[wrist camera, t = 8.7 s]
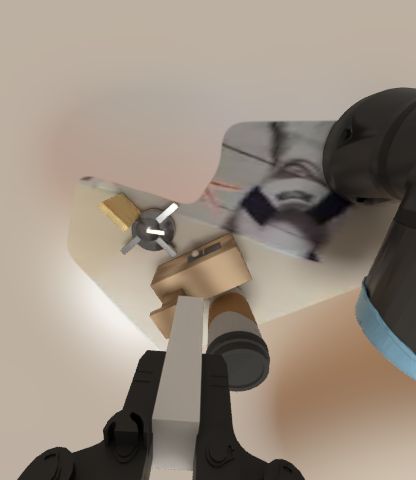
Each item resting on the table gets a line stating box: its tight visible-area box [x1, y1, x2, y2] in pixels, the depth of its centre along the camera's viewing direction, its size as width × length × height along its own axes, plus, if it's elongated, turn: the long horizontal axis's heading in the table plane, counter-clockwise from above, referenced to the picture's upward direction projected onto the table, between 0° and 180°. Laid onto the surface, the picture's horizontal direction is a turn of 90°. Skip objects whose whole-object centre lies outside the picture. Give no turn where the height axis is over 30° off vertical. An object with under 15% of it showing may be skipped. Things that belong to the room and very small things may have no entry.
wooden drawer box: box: [150, 233, 252, 339], centre depth 33 cm, size 14×7×11 cm, turn 116°
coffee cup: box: [206, 287, 270, 391], centre depth 34 cm, size 8×8×15 cm
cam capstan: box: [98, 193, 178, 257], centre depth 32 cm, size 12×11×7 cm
